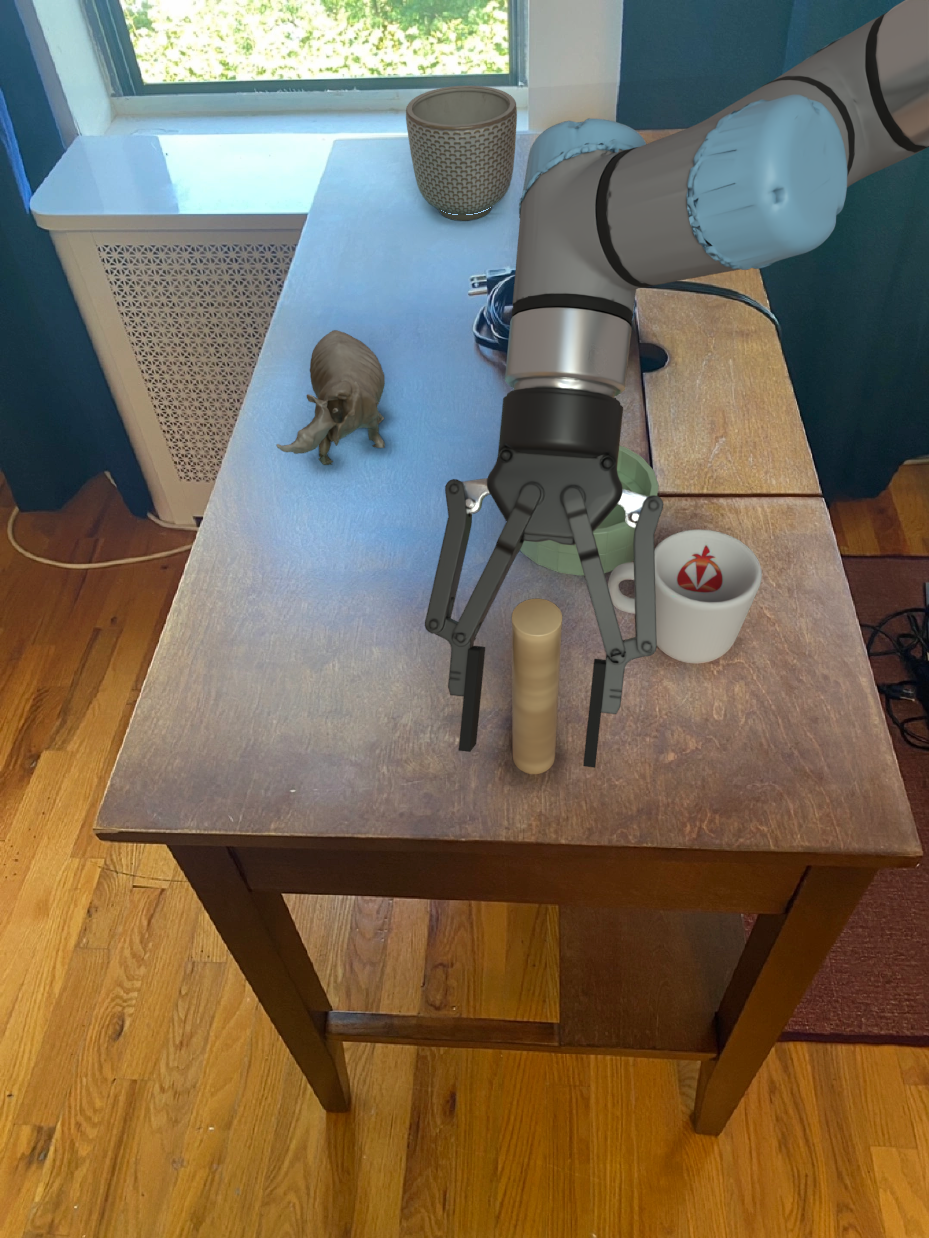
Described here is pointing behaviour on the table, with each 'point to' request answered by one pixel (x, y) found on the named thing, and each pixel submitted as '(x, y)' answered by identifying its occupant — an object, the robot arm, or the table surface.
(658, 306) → the table surface
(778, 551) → the table surface
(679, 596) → the cup
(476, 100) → the planter
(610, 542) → the bowl
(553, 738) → the tan wooden cylinder
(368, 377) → the grey animal figure
